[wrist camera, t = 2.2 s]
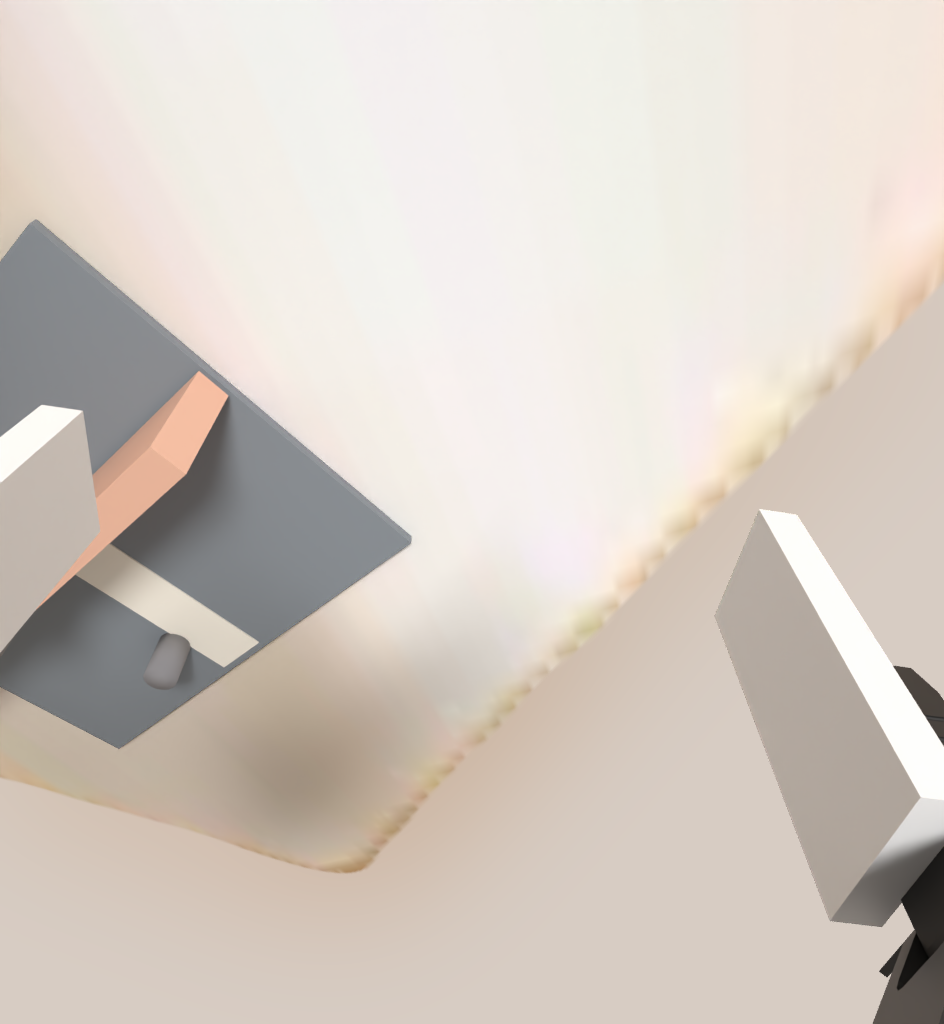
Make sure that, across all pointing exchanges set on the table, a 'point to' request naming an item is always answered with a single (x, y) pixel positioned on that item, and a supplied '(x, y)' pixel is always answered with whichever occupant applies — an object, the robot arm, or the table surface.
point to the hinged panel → (150, 463)
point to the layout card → (164, 511)
